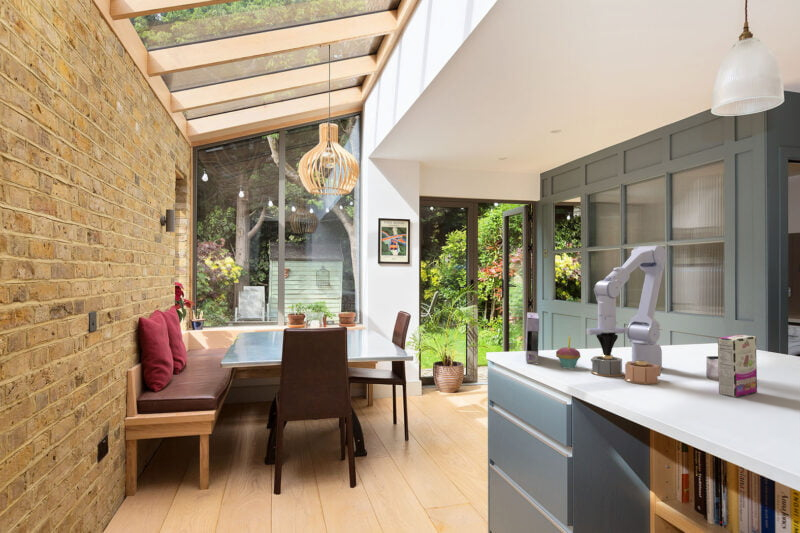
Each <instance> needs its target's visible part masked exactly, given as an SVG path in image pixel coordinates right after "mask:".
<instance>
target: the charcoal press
mask: <svg viewBox="0 0 800 533" xmlns="http://www.w3.org/2000/svg"><path fill="white" fill-rule="evenodd" d="M590 362H592V363H591V366H592V368H591V369H590V373H591V375H596V376H598V377H599V376H600V377H608V378H616V377H617V378H618V377H624V375H625V372H624V371H623V359H622V358H621V357H617V356H613V360H601V355H597V356H596V355H595V356H592V358H591V359H590Z"/></svg>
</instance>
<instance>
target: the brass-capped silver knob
mask: <svg viewBox="0 0 800 533" xmlns="http://www.w3.org/2000/svg"><path fill="white" fill-rule="evenodd" d="M600 356H601V360H613V357H614V356H613V354H611V355H610V356H606V355H604V354H603V353H602V354H601V355H600Z"/></svg>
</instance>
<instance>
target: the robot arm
mask: <svg viewBox="0 0 800 533" xmlns="http://www.w3.org/2000/svg"><path fill="white" fill-rule="evenodd" d="M667 258H668V254H667V252H666V250H665V248H664V247H663V245H650V246H649V245H647V246H646V245H645V246H642V245H641V246H640V245H637V246H635V247H634V248H633V249H632V250H631V254H630V256H629V257H628V259H627V260H626V261H625V262H624V263H623V265H622V266H617V267H614V268H613V269H612V271H611V272H610V273H609V274H608V275H607V276H605V278H604V279H603V280H599V281H597V282H596V283H595V284H594V288H593V293H594V294H595V300H596V302H597V327H593V328H586V331H585V332H586V335H587V336H592V335H593V336H594V335H595V336H596V338H597V340H598V342H599V344H600V347H601V350H602V354H604V355H606V356H610V355H612V352H613V349H614V346H615V343H616V341H617V340H618V338H619V336H618V334H623V335H626V337H627V339H628V340H629V343H631V361H632V362H635V360H644V361H648V363H651V364H655V365H660V370H661V369H662V370H663V369H664V367H663V365H662V364H663V352H662V347H661V345H660V344H659V343H657V342H658V340H659V339H660V335H661V334H660V326H661V324H660V323H659V321H657V320H656V318H654V317H655V314H656V313H655V312H656V307H657V303H658V298H659V292H660V287H661V283H662V277H663V272H664V270H665V266H666V261H667ZM638 267H639V269H640V270H641V271H644V273H645V276H644V281H643V286H642V291H641V296H640V300H639V301H640V302H639V306H638V310H637V314H636V315H634V316H633V317H632V318H630V319H629V323H628V326H627V327H621V326H619V327H617V309H616V308H617V297H618V296H619V295H620V292H621V289H622V287H623V286H624V284H626V283H627V282H628V281H629V280H630V274H631V273H633V271H635V270H636V269H637V268H638Z"/></svg>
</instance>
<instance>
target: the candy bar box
mask: <svg viewBox="0 0 800 533" xmlns="http://www.w3.org/2000/svg"><path fill="white" fill-rule="evenodd" d="M717 357H718V358H717V361H718V394H719V395H721V394H722V396H726V395H727V397H731V398H739V397H744V396H748V395H751V394H756V393H758V374H757V373H758V372H757V370H758V367H757V360H758V359H757V336H754V335H747V334H746V335H745V334H737V335H728V336H722V337H718V338H717Z"/></svg>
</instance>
